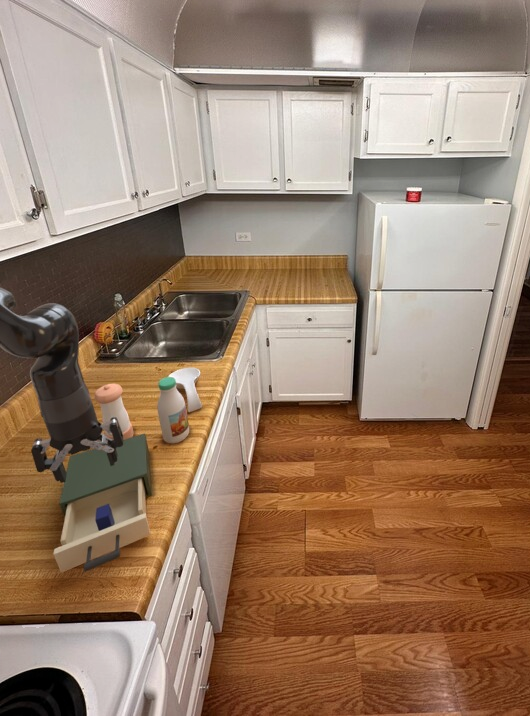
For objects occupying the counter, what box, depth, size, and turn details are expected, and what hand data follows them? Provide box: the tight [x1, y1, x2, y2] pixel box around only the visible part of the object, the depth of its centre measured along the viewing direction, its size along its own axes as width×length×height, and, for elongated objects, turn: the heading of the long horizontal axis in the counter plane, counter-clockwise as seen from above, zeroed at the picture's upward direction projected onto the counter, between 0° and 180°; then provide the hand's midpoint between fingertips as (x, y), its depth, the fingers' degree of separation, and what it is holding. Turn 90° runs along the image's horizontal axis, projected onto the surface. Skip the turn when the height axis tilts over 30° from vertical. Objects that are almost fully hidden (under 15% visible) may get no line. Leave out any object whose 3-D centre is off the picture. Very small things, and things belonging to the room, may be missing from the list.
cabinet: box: [58, 432, 153, 518], centre depth 85 cm, size 15×18×8 cm
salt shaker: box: [94, 383, 135, 440], centre depth 98 cm, size 7×7×19 cm
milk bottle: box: [157, 376, 190, 444], centre depth 99 cm, size 8×8×20 cm
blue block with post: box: [95, 504, 115, 531], centre depth 74 cm, size 2×7×6 cm, turn 27°
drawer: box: [53, 477, 151, 574], centre depth 73 cm, size 18×16×6 cm
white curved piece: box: [167, 366, 203, 413], centre depth 121 cm, size 24×12×7 cm, turn 32°
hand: (89, 470), depth 68 cm, fingers open, 8 cm apart
